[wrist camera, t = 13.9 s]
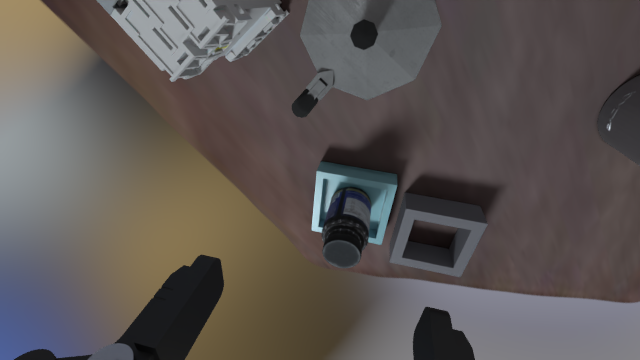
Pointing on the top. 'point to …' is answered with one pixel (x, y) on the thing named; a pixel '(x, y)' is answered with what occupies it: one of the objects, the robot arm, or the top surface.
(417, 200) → the holder
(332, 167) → the tray
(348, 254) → the pill bottle
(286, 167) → the top surface
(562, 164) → the top surface
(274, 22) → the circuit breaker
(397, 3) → the coffeepot
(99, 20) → the top surface
